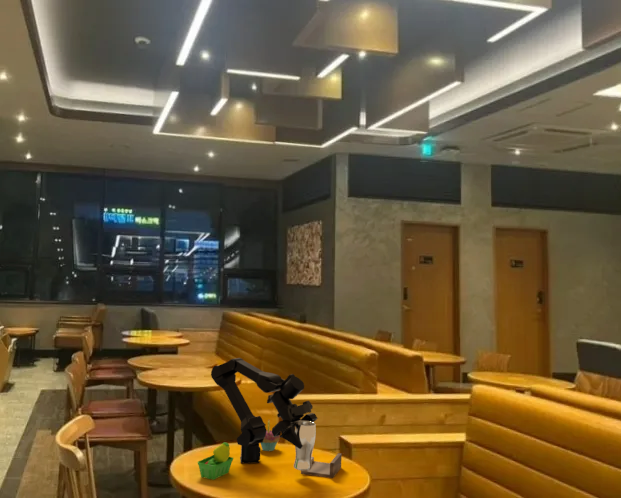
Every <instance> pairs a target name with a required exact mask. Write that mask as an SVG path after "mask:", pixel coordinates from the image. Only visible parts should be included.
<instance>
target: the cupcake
mask: <svg viewBox="0 0 621 498" xmlns="http://www.w3.org/2000/svg"><path fill="white" fill-rule="evenodd" d="M270 424H271V422H270V420H268V421H267V429H266V430H267V431H266V436H265V437H264V440H263V443H260V445H261V446H260V447H261V450H262V451H265V452H272V451H274V450H276V446H277V443H278V442H280V436H276V437H274V435H273V434H272V430H270V427H271V425H270Z"/></svg>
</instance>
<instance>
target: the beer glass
mask: <svg viewBox="0 0 621 498" xmlns="http://www.w3.org/2000/svg"><path fill="white" fill-rule="evenodd" d="M316 425H317V424H316V423H315V421H314V422H311V421H298V422H297V423H296V427H295V433H296V435H297V437H298V439H299V441H300V443H301V445H302V448H301V449H299V448H298V447H296V446H295V445H294V447H295V459H294V462H293V468H294V469H296V470H298V471H301V470H310V469H311V468H312V464H311V457H313V451H314V446H315V441H316V433H317V432H316V430H317V429H316Z"/></svg>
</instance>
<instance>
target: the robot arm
mask: <svg viewBox="0 0 621 498" xmlns="http://www.w3.org/2000/svg"><path fill="white" fill-rule="evenodd" d="M236 373H238V374H241V375H242V376H244V377H245V378H247V379H249V380H250V381H253V382H254V383H255V384H256V386H257V388H259V389H260V390H261V391H262V392H263V393H265V394H268V393H272V394H270V395H269V394H268V395H267V400H266V403H267V404H271V403H272V404H273V406H274V407H275V410H276V411H277V414H276V416H277V418H281V420H280V421H278V422H277V423H276V424H275V425H274V426H273V427H272V428H271V431H272V434H273V435H274V437H276V436H279V439H280V438H282V439H284V440H285V441H287V442H288V443H290V444H292V445H293V446H294V447H295V446H296V447H298V448H299V449H301V448H302V445H301V443H300V441H299V439H298V437H297V435H296V433H295V430H296V424H297V422H298V421H311V422H314V423H315V422H316V421H317V420H318V419H319V418H318V417H317V415H316V413H314V412H312V409H313V404H312V402H310V400H306V401H303V402H302V404H300V405H297V404H296V403H293V402H292V401H291V400H293V399H295V398H296V397H297V396H299V394H300V393H301V392H302V391H303V390H304V389H305V383H304V382H303V380H302V379H301V378H299V377H298V376H295V373H294V374H293V373H291V374H288V376H287V377H286V378H285V379H284V378H282V377H281V376H280V375H279V374H276V373H273V372H269V371H268V372H266V371H263V370H262V369H259V368H258V367H256V366H254V365H252V364H251V363H249V362H247V361H245V360H244V359H243V358H241V357H236V358H232V359H230V360H228V361H226V362H224V363H221V364H218V365H214V366H213V367H212V369H211V372H210V376H211V379H212V380H213V381H214V383H215V385H217V386H218V387H220V388H222V389H223V390H224V392H225V395H226V396H227V399H229V402H230V404H231V406H232V407H233V409H234V411H235V413H236V415H237V416H238V419H239V420H240V431H241V433H240V435H238V436H237V437H236V443H237V445H238V446H240V457H239V459H240V463H241V464H259V463H260V460H261V450H262V448H261V446H260V444H261V443H263V440H264V437H265V436H266V431H267V430H268V429H267V427H266V425H267V424H266V423H265V422H264V421H263V418H262V417H261V416H260V415H257V416H255V415H254V413H252V411H251V408H250V407H249V405H248V403H247V401H246V399H245V397H244V396H243V394H242V392H241V390H240V389H239V387H238V385H237V383H236V379H237V375H236ZM273 392H274V393H273Z"/></svg>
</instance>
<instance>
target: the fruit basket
mask: <svg viewBox="0 0 621 498" xmlns="http://www.w3.org/2000/svg"><path fill="white" fill-rule="evenodd" d="M230 449H231V448H230V444H229V443H228V442H225V441H224V442H223V443H221V444H220V445H219V446H217V447H215V448H214V449H213V451H212V452H213V453H212V454H213V455H211V456H209V457H205V458H203V459H201V460H198V461H197V465H198V469H199V473H200V477H201V478H205V479H209V480H216V479H218V478H220V477H223V476H225V475H226V474H228V473H229V472H230V468H231V466H232V462H233V460H234V457H231V456H230V455H231V454H230Z"/></svg>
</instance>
